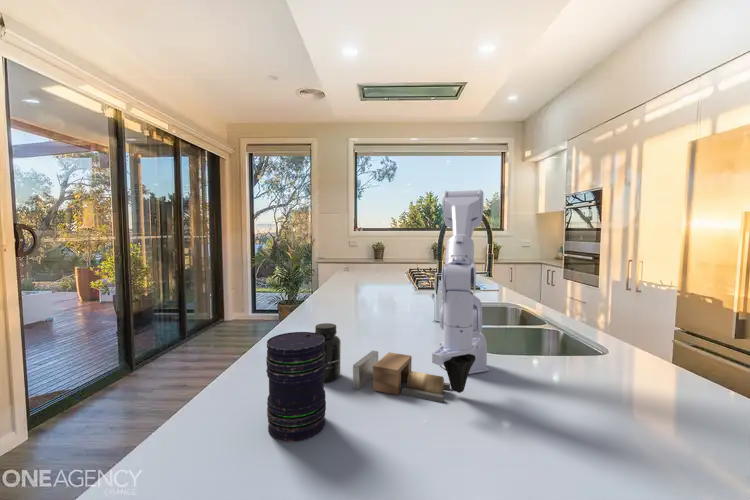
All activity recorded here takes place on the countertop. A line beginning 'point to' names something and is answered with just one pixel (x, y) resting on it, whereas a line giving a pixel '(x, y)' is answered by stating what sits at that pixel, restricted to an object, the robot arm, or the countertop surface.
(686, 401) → the countertop surface
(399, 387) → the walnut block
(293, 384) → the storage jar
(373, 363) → the steel backstop wall
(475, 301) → the robot arm
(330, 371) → the supplement bottle
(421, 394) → the guide rails
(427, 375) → the oak dowel
